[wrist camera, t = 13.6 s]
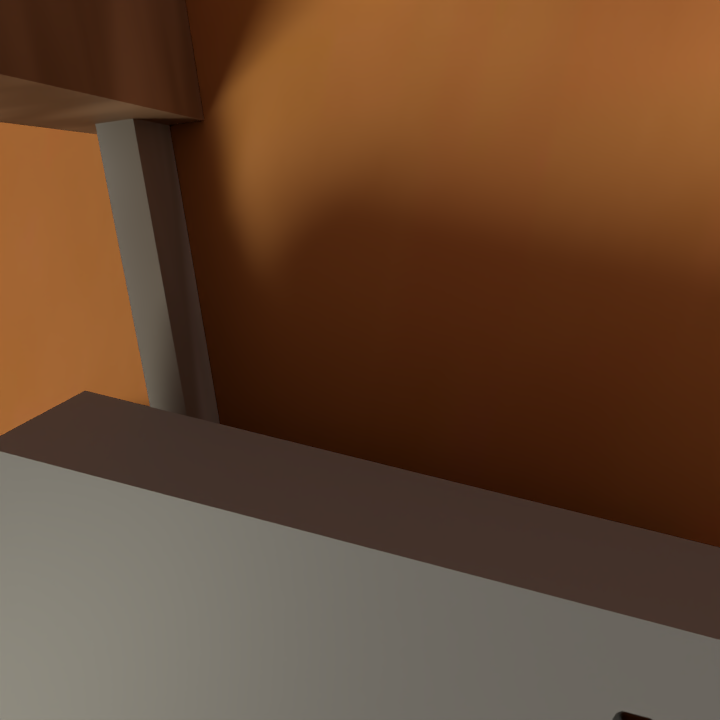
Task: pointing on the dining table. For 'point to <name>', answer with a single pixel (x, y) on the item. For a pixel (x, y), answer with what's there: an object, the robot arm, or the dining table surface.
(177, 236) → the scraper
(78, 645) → the grey rectangular block
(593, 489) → the dining table surface
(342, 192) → the dining table surface
